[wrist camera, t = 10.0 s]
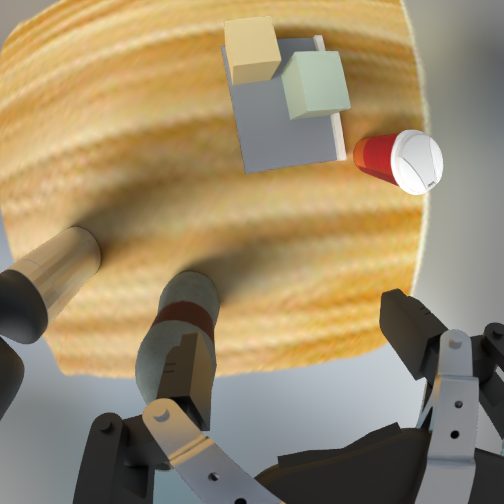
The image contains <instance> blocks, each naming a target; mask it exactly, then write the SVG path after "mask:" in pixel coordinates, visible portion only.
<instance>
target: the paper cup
mask: <svg viewBox="0 0 504 504" xmlns="http://www.w3.org/2000/svg"><path fill="white" fill-rule="evenodd" d="M353 158H354V162H355V164H356V166H357V167H358V168H359V169H360V170H361V171H363V172H365V173H367V174H369V175H372V176H374V177H377V178H379V179H382V180H385V181H387V182H390V183H392V184H395V185H397V186H400V187H401V188H402V189H403V190H404V191H406V192H407V193H410V194H414V195H419V194H423V193H425V192H427V191H428V190H430V189H432V188H433V187H434V186H435V184H436V183H438V182H439V180H440V178H441V176H442V172H443V158H442V154H441V151H440V149H439V147H438V145H437V143H436V142H435V141H434V140H433V139H432V138H431V137H429V136H428V135H427V134H425V133H424V132H422V131H419V130H405V131H403V132H401V133H400V134H392V135H384V136H377V137H371V138H366V139H363V140H361V141H359V142H358V143H357V144H356V146H355V148H354V152H353Z"/></svg>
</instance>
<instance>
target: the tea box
mask: <svg viewBox="0 0 504 504" xmlns="http://www.w3.org/2000/svg"><path fill="white" fill-rule="evenodd" d="M281 77H282V82H283V86H284V91H285V96H286V101H287V106H288V111H289V116H290V120H293V119H302V118H312V117H324V116H328V115H331V114H334V113H338V112H341V111H344V110H348V109H351V106H350V100H349V95H348V90H347V86H346V81H345V76H344V72H343V68H342V64H341V60H340V56H339V52H338V51H305V52H295V53H294V54H293V55H292V57H291V58H290V60H289V61H288V63H287V64H286V66H285V67H284V69H283V70H282V72H281Z"/></svg>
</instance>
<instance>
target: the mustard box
mask: <svg viewBox="0 0 504 504" xmlns="http://www.w3.org/2000/svg"><path fill="white" fill-rule="evenodd" d="M224 31H225V48H226V53H227V58H228V63H229V68H230V73H231V78H232V83H233V85H239V84H245V83H252V82H259V81H268V80H270V79H271V78H272V76H273V74H274V72H275V71H276V69H277V67H278V66H279V64H280V62H281V56H280V52H279V47H278V43H277V39H276V35H275V31H274V27H273V24H272V20H271V16H263V17H252V18H243V19H235V20H228V21H224Z"/></svg>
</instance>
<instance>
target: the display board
mask: <svg viewBox="0 0 504 504" xmlns="http://www.w3.org/2000/svg"><path fill="white" fill-rule="evenodd" d="M277 43H278V47H279V52H280V56H281V62H280V64H279V66H278V67H277V69H276V71H275V72H274V74H273V76H272V78H271V79H270V80H268V81H259V82H252V83H245V84H239V85H233V83H232V78H231V73H230V68H229V63H228V58H227V53H226V48H225V45H224V46H221V48H222V55H223V60H224V65H225V70H226V75H227V80H228V85H229V90H230V95H231V100H232V105H233V110H234V115H235V121H236V126H237V131H238V136H239V141H240V147H241V152H242V157H243V162H244V168H245V173H246V174H249V173H254V172H260V171H266V170H272V169H278V168H284V167H291V166H297V165H304V164H311V163H319V162H327V161H335V160H339V161H341V160H346V153H345V146H344V139H343V132H342V126H341V120H340V114H339V112H338V113H334V114H331V115H328V116H324V117H312V118H302V119H293V120H290V116H289V111H288V106H287V101H286V96H285V91H284V86H283V82H282V77H281V72H282V70H283V69H284V67H285V66H286V64H287V63H288V61H289V60H290V58H291V57H292V55H293V54H294V53H295V52H305V51H326V50H325V46H324V42H323V39H322V35H315V36H314V37H313V38H286V39H277Z"/></svg>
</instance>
